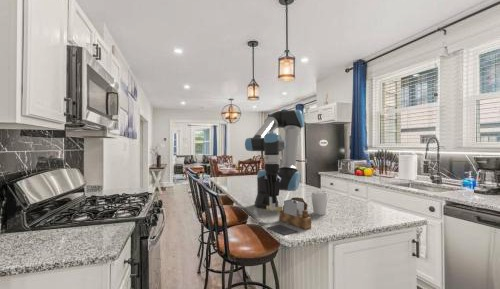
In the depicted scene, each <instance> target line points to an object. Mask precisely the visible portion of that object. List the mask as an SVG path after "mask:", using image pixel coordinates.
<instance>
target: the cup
mask: <svg viewBox="0 0 500 289" xmlns="http://www.w3.org/2000/svg"><path fill="white" fill-rule="evenodd" d="M328 195H329V194H328V192H327V191H324V190H323V191H322V190H313V191H311V203H312V204H311V205H312V211H313V214H315V215H320V216H322V215H324V216H325V215H326V214H327V207H328V198H329V196H328Z"/></svg>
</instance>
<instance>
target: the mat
mask: <svg viewBox="0 0 500 289" xmlns="http://www.w3.org/2000/svg"><path fill="white" fill-rule="evenodd" d="M266 228H267V230H271V231H273V232H274V233H275V232H276V233H278V234H280V235H283V236H288V235H291V234H295V233H298V230H296V229H293V228H290V227H288V226H286V225H284V224H280V223H279V224H276V225H271V226H268V227H266Z"/></svg>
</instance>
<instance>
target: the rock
mask: <svg viewBox="0 0 500 289" xmlns="http://www.w3.org/2000/svg"><path fill="white" fill-rule="evenodd" d="M290 200H295V201H299V202H303V203H304V210H307V211H308V203H307V202H305V199H304V197H303V198H302V197H292V198H291V199H290Z"/></svg>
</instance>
